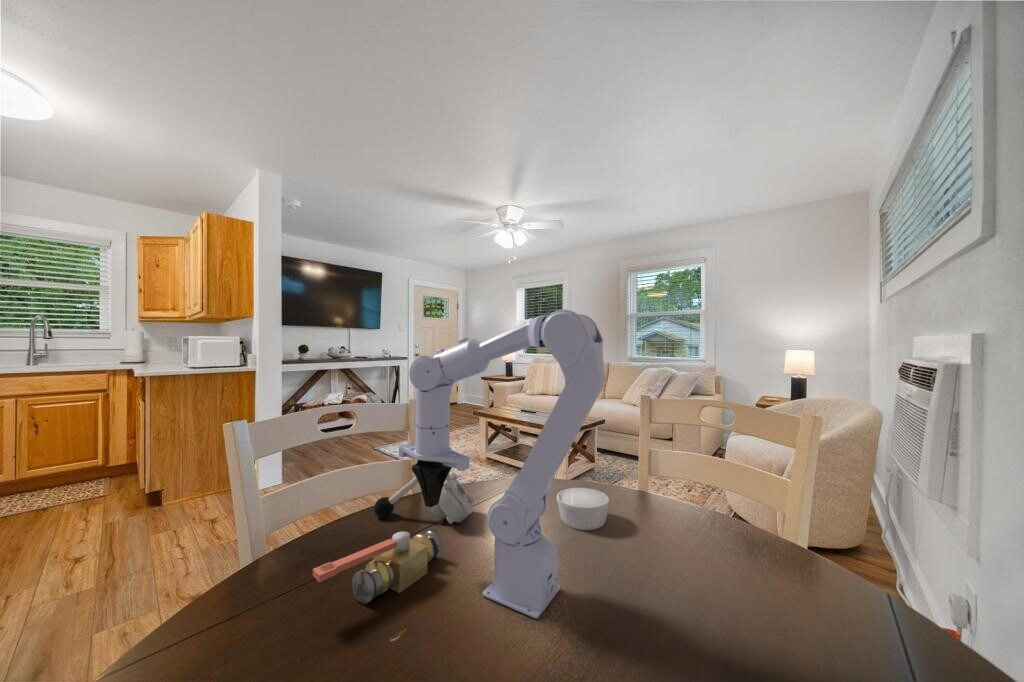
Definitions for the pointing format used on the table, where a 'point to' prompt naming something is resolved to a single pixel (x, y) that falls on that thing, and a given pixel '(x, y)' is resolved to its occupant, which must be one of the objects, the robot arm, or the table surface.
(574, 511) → the ramekin
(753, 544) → the table surface
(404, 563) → the valve pipe
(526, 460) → the robot arm
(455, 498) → the mechanical valve
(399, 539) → the lever
